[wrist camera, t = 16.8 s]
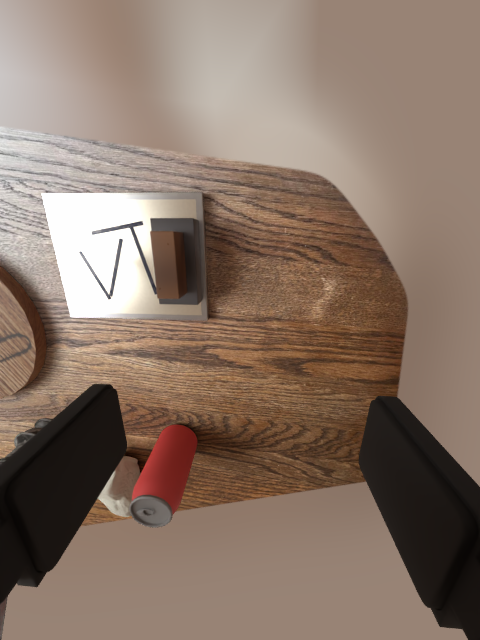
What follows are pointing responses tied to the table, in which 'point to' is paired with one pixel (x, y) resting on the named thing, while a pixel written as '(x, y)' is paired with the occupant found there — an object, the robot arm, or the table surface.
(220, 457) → the table surface
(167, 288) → the eraser
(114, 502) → the decorative stone
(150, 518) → the beer can
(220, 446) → the table surface
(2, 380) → the trivet
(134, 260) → the whiteboard
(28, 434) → the dark chess piece
